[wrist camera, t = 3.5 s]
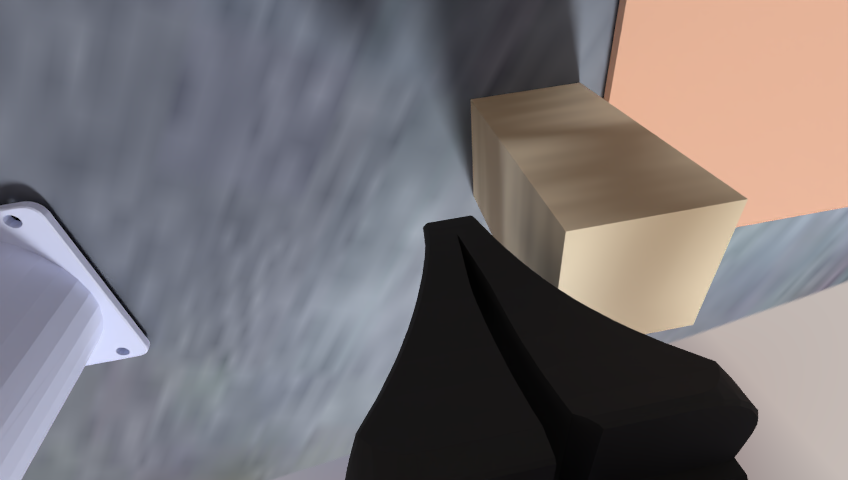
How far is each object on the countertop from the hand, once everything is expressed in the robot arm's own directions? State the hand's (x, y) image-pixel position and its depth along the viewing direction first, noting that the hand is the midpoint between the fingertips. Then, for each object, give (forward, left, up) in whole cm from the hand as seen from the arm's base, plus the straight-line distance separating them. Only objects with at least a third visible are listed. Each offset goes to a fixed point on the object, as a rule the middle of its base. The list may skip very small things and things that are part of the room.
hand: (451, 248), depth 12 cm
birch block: (+4, 0, -6) cm, 7 cm away
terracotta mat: (+14, 0, -5) cm, 15 cm away
